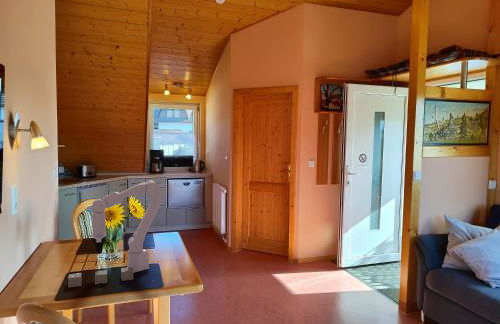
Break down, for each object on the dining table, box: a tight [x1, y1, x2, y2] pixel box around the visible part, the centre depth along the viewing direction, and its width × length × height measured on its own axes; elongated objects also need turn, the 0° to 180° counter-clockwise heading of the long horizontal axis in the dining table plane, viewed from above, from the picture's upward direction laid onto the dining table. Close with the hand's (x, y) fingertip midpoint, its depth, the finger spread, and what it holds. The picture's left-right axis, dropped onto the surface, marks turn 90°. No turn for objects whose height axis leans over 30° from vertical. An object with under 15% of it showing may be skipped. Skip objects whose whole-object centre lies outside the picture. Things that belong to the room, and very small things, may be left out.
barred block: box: [120, 267, 134, 282], centre depth 165 cm, size 5×5×4 cm
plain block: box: [94, 269, 108, 285], centre depth 161 cm, size 5×5×4 cm
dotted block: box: [67, 272, 82, 289], centre depth 157 cm, size 5×5×4 cm
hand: (99, 253), depth 170 cm, fingers closed
